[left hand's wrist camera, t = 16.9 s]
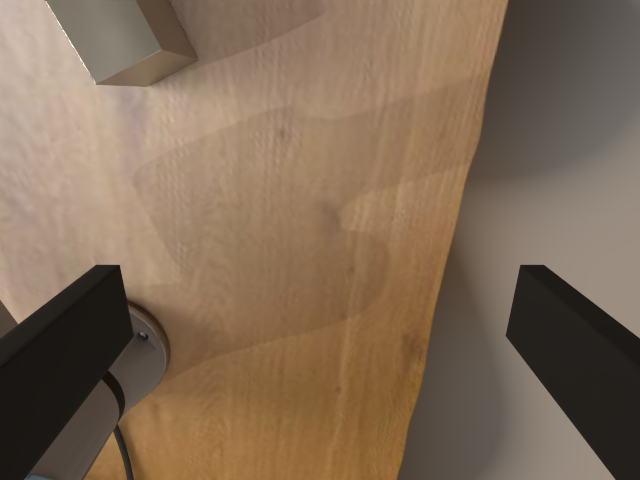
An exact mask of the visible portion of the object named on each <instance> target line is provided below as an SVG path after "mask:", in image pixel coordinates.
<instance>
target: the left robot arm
mask: <svg viewBox="0 0 640 480" xmlns="http://www.w3.org/2000/svg"><path fill="white" fill-rule="evenodd" d="M506 337H507V338H508V340H509V341H510V342H511V343H512V345H513V346H514V347H515V349H516V350H517V351H518V353H519V354H520V355H521V357H522V358H523V359H524V360H525V362H526V363H527V364H528V366H529V367H530V368H531V370H532V371H533V372H534V374H535V375H536V376H537V377H538V379H539V380H540V381H541V383H542V384H543V385H544V387H545V388H546V389H547V391H548V392H549V393H550V394H551V396H552V397H553V398H554V400H555V401H556V402H557V404H558V405H559V406H560V408H561V409H562V410H563V411H564V413H565V414H566V415H567V417H568V418H569V419H570V421H571V422H572V423H573V424H574V426H575V427H576V428H577V430H578V431H579V432H580V434H581V435H582V436H583V438H584V439H585V440H586V442H587V443H588V444H589V445H590V447H591V448H592V449H593V451H594V452H595V453H596V455H597V456H598V457H599V459H600V460H601V461H602V462H603V464H604V465H605V466H606V468H607V469H608V470H609V472H610V473H611V474H612V475H613V477H614V478H615V479H616V480H640V338H638V337H637V336H636V335H634V334H633V333H632V332H631V331H629V330H628V329H627V328H625V327H624V326H623V325H621V324H620V323H619V322H618V321H616V320H615V319H614V318H612V317H611V316H610V315H608V314H607V313H606V312H605V311H603V310H602V309H601V308H599V307H598V306H597V305H595V304H594V303H593V302H591V301H590V300H589V299H588V298H586V297H585V296H584V295H582V294H581V293H580V292H578V291H577V290H576V289H575V288H573V287H572V286H571V285H569V284H568V283H567V282H565V281H564V280H563V279H561V278H560V277H559V276H558V275H556V274H555V273H554V272H552V271H551V270H550V269H548V268H547V267H546V266H545V265H520V270H519V275H518V279H517V284H516V289H515V294H514V299H513V303H512V308H511V313H510V318H509V323H508V327H507V332H506ZM169 361H170V346H169V342H168V339H167V337H166V334H165V333H164V331H163V329H162V328H161V326H160V325H159V324H158V322H157V321H156V320H155V319H154V318H153V317H152V316H151V315H150V314H149V313H147V312H146V311H145V310H143V309H142V308H140V307H139V306H137V305H135V304H133V303H131V302H129V301H127V299H126V294H125V289H124V284H123V279H122V274H121V270H120V265H95V266H94V267H93V268H92V269H90V270H89V271H88V272H86V273H85V274H84V275H82V276H81V277H80V278H78V279H77V280H76V281H75V282H73V283H72V284H71V285H69V286H68V287H67V288H65V289H64V290H63V291H62V292H60V293H59V294H58V295H56V296H55V297H54V298H52V299H51V300H50V301H49V302H47V303H46V304H45V305H43V306H42V307H41V308H39V309H38V310H37V311H35V312H34V313H33V314H32V315H30V316H29V317H28V318H26V319H25V320H24V321H22V322H21V323H20V324H19V325H18V323H17V322H16V321H15V319H14V318H13V317H12V315H11V314H10V313H9V311H8V310H7V308H6V307H5V306H4V304H3V303H2V302H1V300H0V480H84V479H85V477H86V475H87V474H88V472H89V470H90V469H91V467H92V465H93V464H94V462H95V460H96V458H97V457H98V455H99V453H100V452H101V450H102V448H103V447H104V445H105V443H106V442H107V440H108V438H109V437H110V435H111V434H112V432H114V435H115V438H116V440H117V443H118V446H119V449H120V452H121V455H122V458H123V461H124V465H125V470H126V475H127V480H134V479H133V474H132V469H131V464H130V460H129V456H128V453H127V450H126V447H125V444H124V441H123V438H122V436H121V433H120V430H119V427H118V424H117V423H118V422H119V420H120V419H121V417H122V415H124V414H125V413H126V412H127V411H128V410H130V409H131V408H132V407H133V406H135V405H136V404H137V403H138V402H139V401H141V400H142V399H143V398H144V397H145V396H147V395H148V394H149V393H150V392H151V391H152V390H153V389H155V388H156V386H157V385H158V384H159V382H160V381H161V379H162V377H163V376H164V374H165V372H166V370H167V368H168V365H169Z"/></svg>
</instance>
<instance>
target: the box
mask: <svg viewBox="0 0 640 480" xmlns="http://www.w3.org/2000/svg"><path fill="white" fill-rule="evenodd" d="M45 2H46V3H47V5H48V6H49V8H50V10H51V11H52V13H53V15H54V16H55V18H56V20H57V21H58V23H59V25H60V26H61V28H62V30H63V31H64V33H65V35H66V36H67V38H68V39H69V41H70V43H71V44H72V46H73V48H74V49H75V51H76V53H77V54H78V56H79V58H80V59H81V61H82V63H83V64H84V66H85V68H86V69H87V71H88V72H89V74H90V76H91V77H92V79H93V81H94V82H95V84H96V85H116V86H140V87H147V86H149V85H151V84H153V83H155V82H157V81H159V80H161V79H163V78H165V77H167V76H169V75H171V74H172V73H174V72H176V71H178V70H180V69H182V68H184V67H186V66H188V65H190V64H192V63H194V62H196V61H198V58H197V56H196V54H195V52H194V50H193V48H192V46H191V44H190V42H189V40H188V38H187V36H186V34H185V32H184V30H183V28H182V26H181V24H180V22H179V20H178V18H177V16H176V14H175V12H174V10H173V8H172V6H171V5H170V3H169V1H168V0H45Z"/></svg>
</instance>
